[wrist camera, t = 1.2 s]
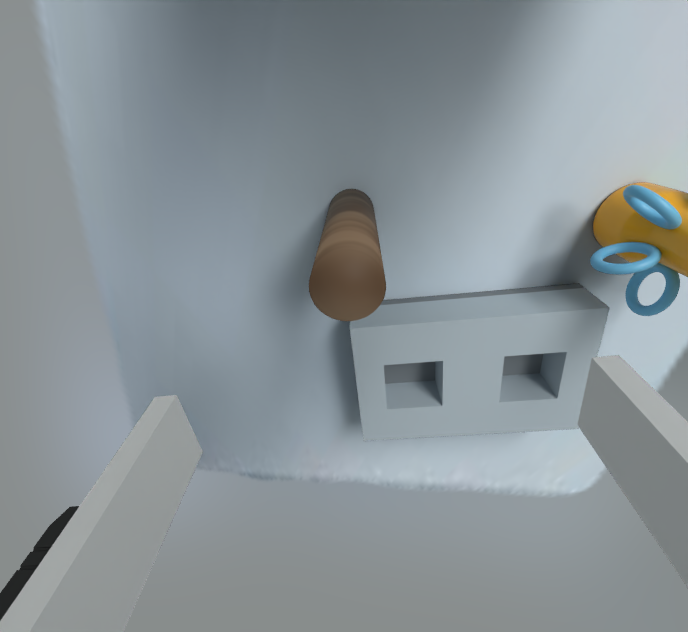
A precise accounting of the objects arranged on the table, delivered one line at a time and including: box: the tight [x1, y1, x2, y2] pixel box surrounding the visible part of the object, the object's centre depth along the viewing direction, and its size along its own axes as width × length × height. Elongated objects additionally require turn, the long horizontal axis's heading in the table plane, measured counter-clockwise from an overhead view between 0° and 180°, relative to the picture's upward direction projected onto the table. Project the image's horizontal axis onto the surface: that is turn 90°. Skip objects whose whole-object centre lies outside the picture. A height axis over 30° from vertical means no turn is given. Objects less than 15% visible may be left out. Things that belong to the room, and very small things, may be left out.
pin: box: [309, 189, 386, 321], centre depth 27 cm, size 4×4×16 cm
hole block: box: [350, 283, 609, 441], centre depth 38 cm, size 14×22×5 cm, turn 96°
